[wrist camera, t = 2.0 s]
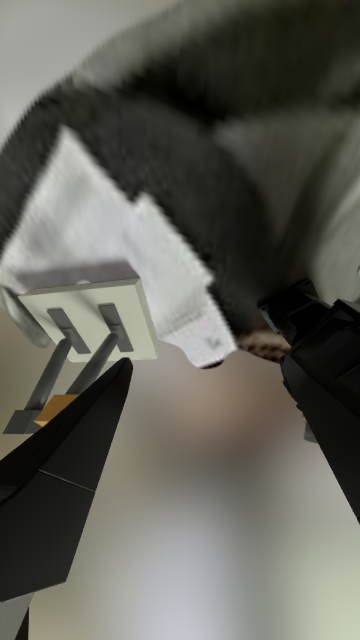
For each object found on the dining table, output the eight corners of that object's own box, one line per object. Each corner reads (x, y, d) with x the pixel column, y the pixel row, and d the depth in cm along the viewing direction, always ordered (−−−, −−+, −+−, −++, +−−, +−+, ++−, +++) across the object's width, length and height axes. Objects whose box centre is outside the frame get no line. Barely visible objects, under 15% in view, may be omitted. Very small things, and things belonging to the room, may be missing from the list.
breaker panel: (140, 277, 19) (64, 364, 7) (160, 348, 26) (136, 447, 15) (34, 289, 21) (-158, 373, 9) (79, 352, 28) (3, 443, 17)
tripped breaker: (121, 329, 20) (62, 421, 11) (125, 339, 21) (75, 431, 12) (104, 330, 20) (33, 421, 11) (109, 339, 21) (48, 430, 12)
